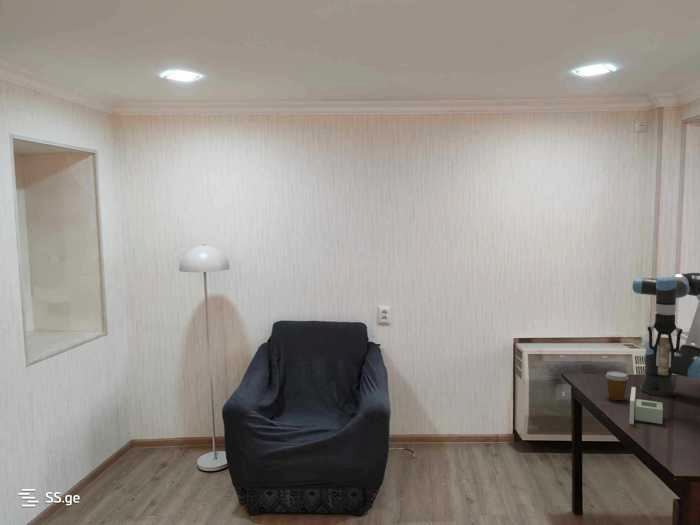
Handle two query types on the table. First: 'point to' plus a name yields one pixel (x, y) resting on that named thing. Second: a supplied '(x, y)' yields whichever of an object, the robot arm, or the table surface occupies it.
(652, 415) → the sage green block
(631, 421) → the pale wall board
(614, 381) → the disposable coffee cup
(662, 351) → the birch dowel
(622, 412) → the table surface
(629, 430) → the table surface
